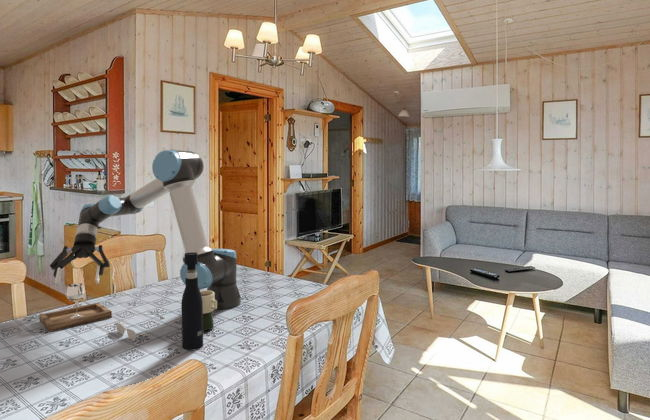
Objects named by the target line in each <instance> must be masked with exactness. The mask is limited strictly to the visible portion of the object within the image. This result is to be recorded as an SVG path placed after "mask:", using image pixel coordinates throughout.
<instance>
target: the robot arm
mask: <svg viewBox="0 0 650 420" xmlns="http://www.w3.org/2000/svg"><path fill="white" fill-rule="evenodd" d="M151 166H152V167H151V168H152V174H153V177H155V179H152V180H151V181H150V182H148V183H146V184H145V185H143V186H142V187H140V188H139V189H137V190H135V191H134V192H132V193H130V194H129V195H127V196H123V197H118V196H115V195H113V194H109V195H107V196H104V197H102V198H101V199H100V200H99V201H97V202H96V203H95V204H94V203H88V204H84V205H83V206H82V207H81V210H80V212H79V218H78V222H77V228H76V232H75V237H74V241H73V246H72V247H68V246H66V245H65V246H64V247H63V249H62V251H61V252H59V255H57V256H56V258H55V259H54V260H53V261H52V262H51V263H50V265H49V267H50V269H51V270H52V271H53V277H54V285H55V286H56V287H59V286H60V281H61V277H62V274H63V270H62V269H63V268H65V267H66V266H67V265H68V264H70V263H71V262H72V261H74V260H75V261H76V259H82V258H83V259H87V258H90V259H91V260H93V262H94V263H95V264H96V265H97V266H96V272H95V273H96V274H95V279H94V282H95V283H96V285H99V284H100V278H101V276H103V275H104V272H105V271H104V270H105V268H109V267H110V262H109V260H108V259H107V257H106V254H105V253H104V247H103V245H102V244H99V245H98V246H96V243H97V236H98V231H99V225H100V223H102V222H104V221H105V220H107V219H108V218H110V217H119V216H126V215H135V214H138V213H140V212H142V211H143V209H144V207H146V206H148V205H149V204H151V203H153V202H155V201H156V200H157V199H160V198H161V197H163V196H164V195H166V194H168V193H169V196H170V200H171V203H172V207H173V210H174V211H173V212H174V215H175V219H176V222H177V226H178V229H179V233H180V238H181V241H182V244H183V246H182V247H183V249H184V254H183V256H182V261H183V262H182V263H183V264H181V267H180V268H181V269H180V271H179V276H180V280H181V281H182V283H183V284H184V285H185V278H186V273H187V272H188V271H187V265H185V253H190V252H195V253H198V264H196V270H195V271H196V272H197V277H198V287H199V290H200V291H202V290H205V289H206V291H213V292H214V294H215V300H216V301H217V309H216V310H224V309H225V310H226V309H231V308H234V307H237V306H239V305H240V304H241V303H242V296H241V294H240V292H239V291H240V290H239V288H238V285H237V259H238V258H237V252H236V250H234V249H230V248H211V247H210V246H209V245H208V242H207V239H206V235H205V230H204V226H203V223H202V220H201V216H200V212H199V208H198V204H197V200H196V197H195V193H194V189H193V186H194V184H195V183H196V181H195V180H197V179H199V177H201V175H202V173H203V172H204V169H205V167H204V161H203V159H202V157H201V156H200V155H199V154H197V153H196V152H194V151H191V150H178V149H165V150H161V151H160V152H158V153H157V154H156V155H155V158H154V159H153V161H152V165H151ZM95 252H97V253H99V255H100V257H101V258H102V260H103V262H102V261H101V259H99V258H98V257H97V256H96V255H95V254H94V253H95ZM68 254H69V255H68Z"/></svg>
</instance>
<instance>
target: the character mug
mask: <svg viewBox="0 0 650 420" xmlns="http://www.w3.org/2000/svg"><path fill="white" fill-rule="evenodd" d="M200 292H201V296H202V301H203V332H204V331H208V330H211V329H213V328H214V327H215V326H214V319H213V318H214V317H213V313H212V312H213V311H214V310H218V309H217V301H216V300H215V294H214V292H213V291H207V290H200Z"/></svg>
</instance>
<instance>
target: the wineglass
mask: <svg viewBox="0 0 650 420" xmlns="http://www.w3.org/2000/svg"><path fill="white" fill-rule="evenodd" d="M85 294H86V291H85V286H84V285H83V283H81V282H80V283H79V282H78V283H77V282H76V283H70V284H68V285H67V289H66V298H67V300H68V301H69V302H71V303H74V307H75V308H76V314H75V315H73V316H71V317H70V318H71V319H72V318H77V317H81V316H84V315H82V314H78V312H77V307H79V303H78V302H81V301H82V300H83V299H84V298H85V297H86V295H85Z"/></svg>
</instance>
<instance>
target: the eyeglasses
mask: <svg viewBox="0 0 650 420" xmlns="http://www.w3.org/2000/svg"><path fill="white" fill-rule="evenodd" d="M149 315H151V316H156V317H158V318H160V320H163V319H165V317H164V316H162V315H160V314H155V313H147V314H143V315H142V317H144V316H149ZM139 317H141V315H139V316H138V318H139ZM136 318H137V316H136V317H132V318H128V319H124V322H125V321H128V320H132V319H136ZM122 322H123V320H122V321H117V322H115V325H116V330H117V333H119V334H121V335H122V336H124V335H125V332H127V333H126V334H127V337H128V339H130V340H131V341H132V342H135V341H136V338H137V336H139V335H142V334H144V333H148V332H151V331H155V330H157V329H161V328H163V327H164V328H165V327H167V326H170V325H172V323H169V324H166V325H163V326H161V327H157V328H154V329H150V330H146V331H143V332H138V333H137V332H135V330H133V329H130V328H127V327H125V326H124V325H123V324H122ZM175 325H176V326H178V327H179V328H180V329H182V324H179V323H174V326H175Z"/></svg>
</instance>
